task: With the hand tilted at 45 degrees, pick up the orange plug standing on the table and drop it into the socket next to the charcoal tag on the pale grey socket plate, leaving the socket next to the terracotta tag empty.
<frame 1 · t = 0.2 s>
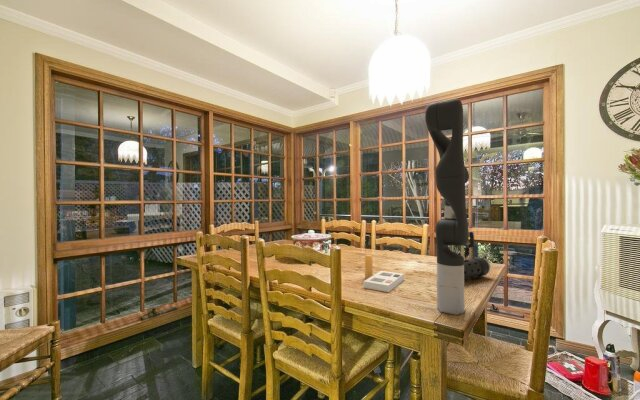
hand: (454, 255, 116), 18 cm above the table, tool pointing down, fingers open, 8 cm apart
plug: (368, 278, 145), on the table
socket plate: (384, 283, 136), on the table
muzzle brake: (465, 280, 141), on the table
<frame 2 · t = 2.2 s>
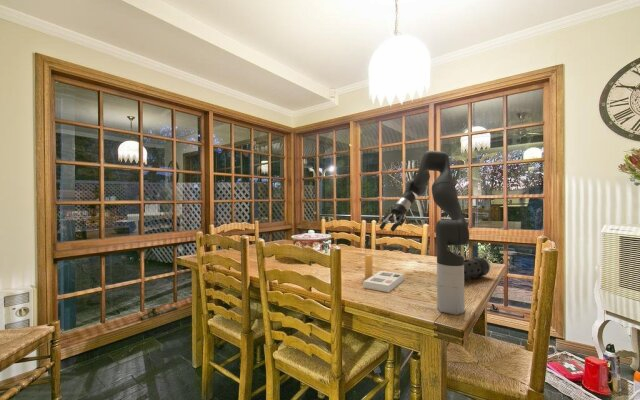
hand: (386, 229, 151), 24 cm above the table, tool tilted 45°, fingers open, 8 cm apart
nothing on the table moved.
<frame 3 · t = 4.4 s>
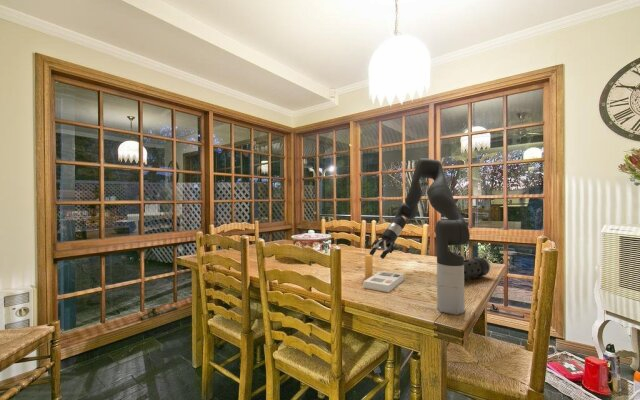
hand: (375, 256, 148), 11 cm above the table, tool tilted 45°, fingers open, 8 cm apart
nothing on the table moved.
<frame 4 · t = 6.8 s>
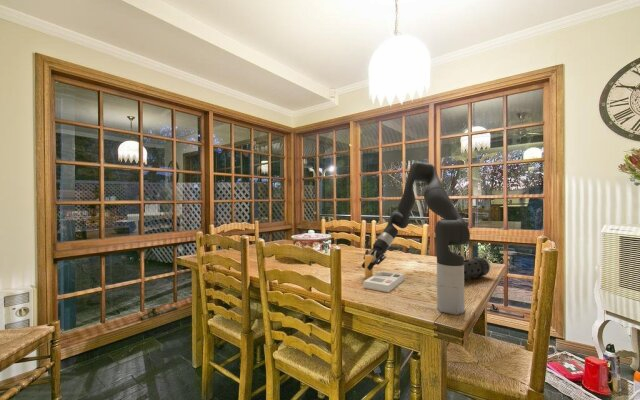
hand: (365, 268, 144), 6 cm above the table, tool tilted 45°, fingers closed on plug, 4 cm apart
plug: (368, 278, 145), on the table, touching gripper
everything else where it was.
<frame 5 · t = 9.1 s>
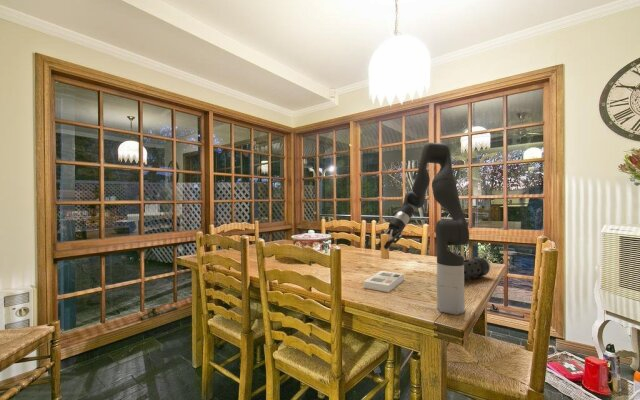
hand: (382, 247, 140), 17 cm above the table, tool tilted 45°, fingers closed on plug, 4 cm apart
plug: (385, 258, 142), point 11 cm above the table, touching gripper
everything else where it was.
when the fingers open (7 cm above the table, at t = 11.9 s): plug drops 1 cm, resting in socket plate.
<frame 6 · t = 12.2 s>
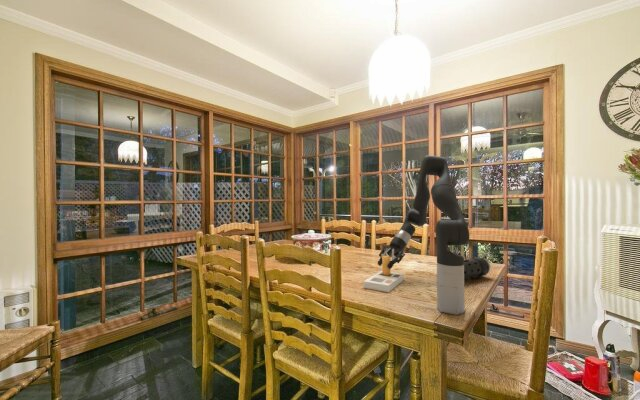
hand: (383, 266, 141), 7 cm above the table, tool tilted 45°, fingers open, 6 cm apart
plug: (386, 280, 142), resting in socket plate
everything else where it was.
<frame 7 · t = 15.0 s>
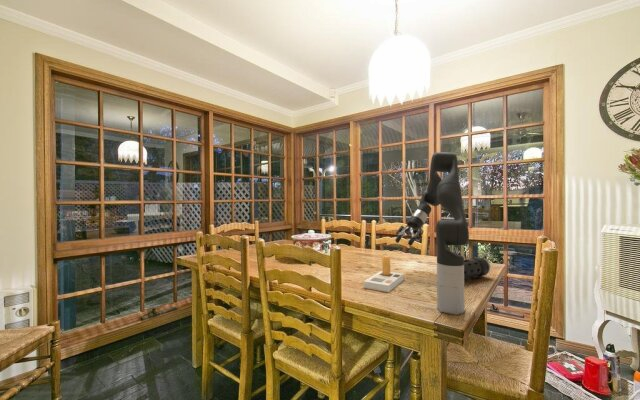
hand: (402, 243, 147), 18 cm above the table, tool tilted 45°, fingers open, 8 cm apart
nothing on the table moved.
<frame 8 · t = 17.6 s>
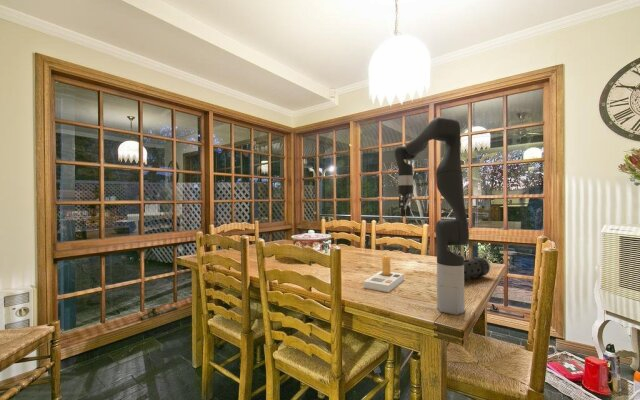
hand: (405, 216, 145), 32 cm above the table, tool pointing down, fingers open, 8 cm apart
nothing on the table moved.
at the end: plug 0.1 cm from the target spot on the socket plate, point 0.0 cm above the socket plate's base; plug tilted 0°; the gripper is holding nothing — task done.
